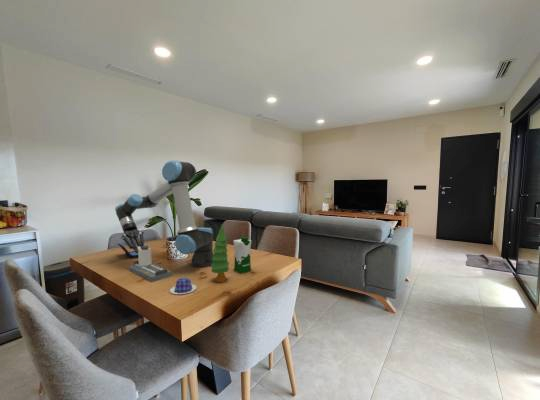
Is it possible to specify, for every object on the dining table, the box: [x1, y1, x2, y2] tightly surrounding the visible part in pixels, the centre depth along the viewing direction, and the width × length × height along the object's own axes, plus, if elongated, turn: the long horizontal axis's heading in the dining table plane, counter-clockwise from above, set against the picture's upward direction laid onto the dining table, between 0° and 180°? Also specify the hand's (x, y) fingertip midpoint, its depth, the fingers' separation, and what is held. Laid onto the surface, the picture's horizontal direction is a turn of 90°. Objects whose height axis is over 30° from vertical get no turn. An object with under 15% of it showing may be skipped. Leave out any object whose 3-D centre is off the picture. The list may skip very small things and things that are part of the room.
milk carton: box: [232, 236, 252, 274], centre depth 144 cm, size 9×9×20 cm
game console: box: [118, 243, 139, 259], centre depth 174 cm, size 16×14×9 cm
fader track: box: [128, 260, 173, 283], centre depth 140 cm, size 28×11×4 cm, turn 51°
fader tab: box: [138, 245, 153, 267], centre depth 143 cm, size 5×6×12 cm
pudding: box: [169, 277, 197, 295], centre depth 118 cm, size 12×12×5 cm
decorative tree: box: [210, 223, 230, 283], centre depth 129 cm, size 10×9×30 cm
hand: (141, 256), depth 144 cm, fingers closed
